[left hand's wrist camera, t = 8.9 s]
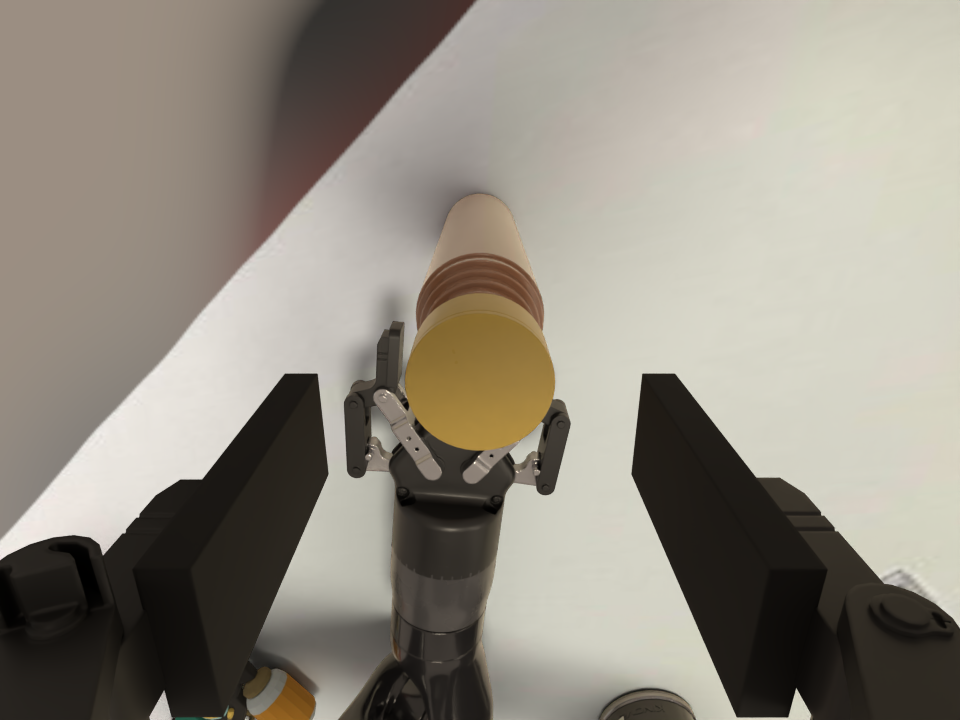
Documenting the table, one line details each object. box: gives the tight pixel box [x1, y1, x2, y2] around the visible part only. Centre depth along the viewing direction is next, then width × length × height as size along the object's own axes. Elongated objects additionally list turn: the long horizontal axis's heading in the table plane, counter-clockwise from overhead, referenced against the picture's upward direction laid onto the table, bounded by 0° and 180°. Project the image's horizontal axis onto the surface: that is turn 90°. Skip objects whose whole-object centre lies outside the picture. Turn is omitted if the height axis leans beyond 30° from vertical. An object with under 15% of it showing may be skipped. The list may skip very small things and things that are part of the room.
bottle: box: [416, 194, 544, 330], centre depth 29 cm, size 5×5×26 cm
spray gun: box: [172, 661, 316, 720], centre depth 55 cm, size 4×17×15 cm
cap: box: [405, 293, 555, 451], centre depth 17 cm, size 4×4×2 cm
